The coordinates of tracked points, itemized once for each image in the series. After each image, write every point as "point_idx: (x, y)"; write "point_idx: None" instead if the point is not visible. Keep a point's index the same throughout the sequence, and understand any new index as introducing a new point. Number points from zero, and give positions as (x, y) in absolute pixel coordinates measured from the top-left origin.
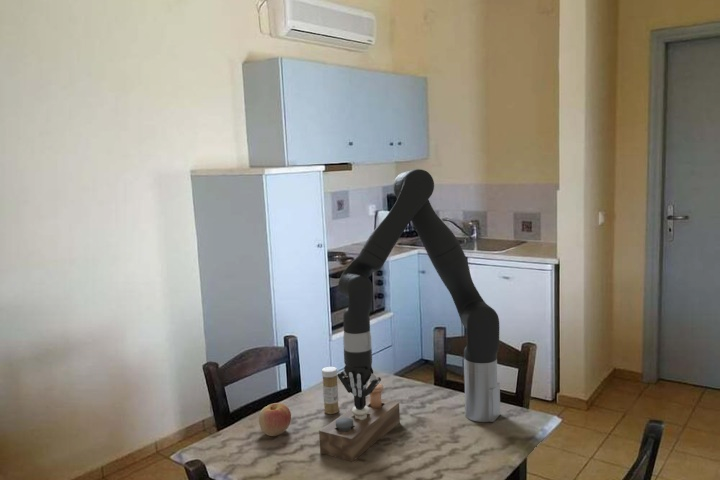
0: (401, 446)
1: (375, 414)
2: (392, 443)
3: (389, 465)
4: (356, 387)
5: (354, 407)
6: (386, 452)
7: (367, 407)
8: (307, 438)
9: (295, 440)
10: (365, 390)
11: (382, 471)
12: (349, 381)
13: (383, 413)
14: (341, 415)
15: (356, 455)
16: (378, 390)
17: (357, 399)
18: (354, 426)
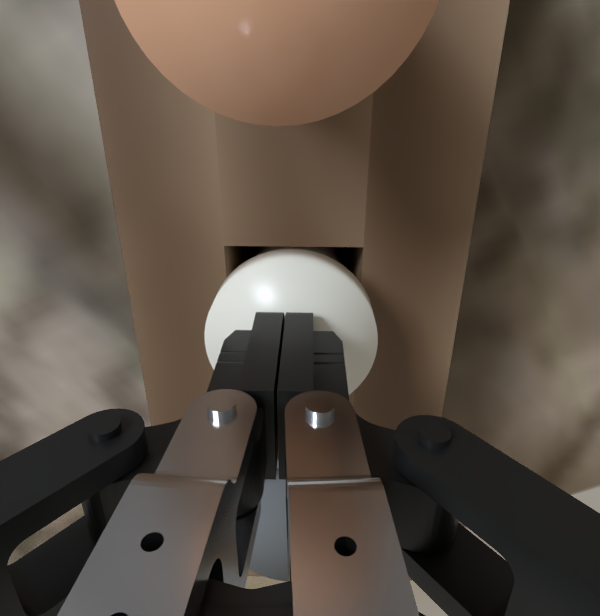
0: (593, 246)
1: (402, 228)
2: (524, 237)
3: (579, 437)
4: (241, 585)
5: (219, 346)
6: (523, 343)
7: (342, 295)
8: (38, 388)
9: (6, 427)
10: (432, 594)
11: (561, 484)
12: (2, 576)
13: (470, 173)
14: (143, 366)
15: None
16: (405, 54)
17: (277, 454)
18: None
